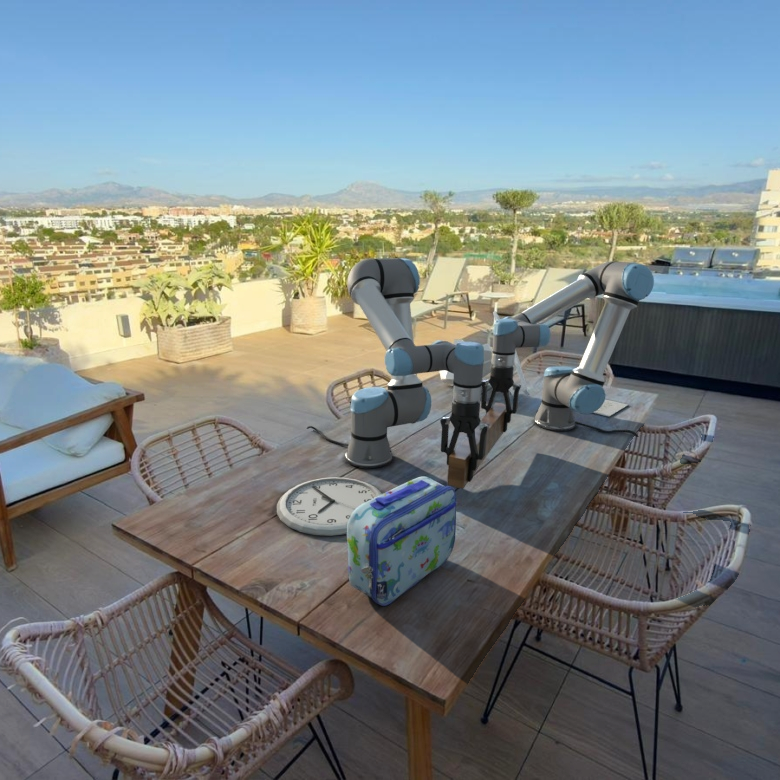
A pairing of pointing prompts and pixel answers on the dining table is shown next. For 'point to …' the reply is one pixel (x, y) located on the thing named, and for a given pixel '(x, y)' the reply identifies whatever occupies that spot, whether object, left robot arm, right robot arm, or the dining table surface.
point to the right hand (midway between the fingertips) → (497, 429)
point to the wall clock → (324, 504)
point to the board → (463, 453)
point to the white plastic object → (488, 366)
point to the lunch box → (400, 538)
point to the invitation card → (610, 408)
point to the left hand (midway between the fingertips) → (460, 477)
